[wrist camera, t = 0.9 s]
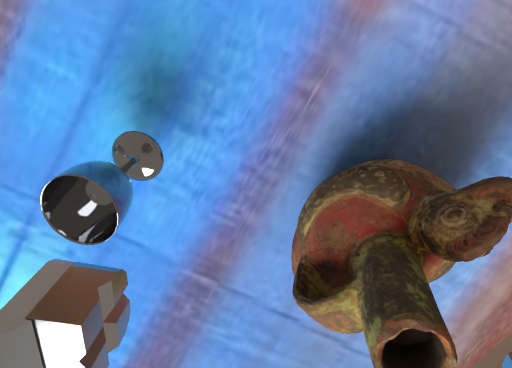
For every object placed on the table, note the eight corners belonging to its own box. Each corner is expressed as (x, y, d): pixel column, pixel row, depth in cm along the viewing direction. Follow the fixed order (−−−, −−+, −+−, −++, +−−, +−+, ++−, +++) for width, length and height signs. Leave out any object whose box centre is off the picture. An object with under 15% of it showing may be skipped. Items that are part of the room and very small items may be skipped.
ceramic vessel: (499, 182, 47) (682, 344, 25) (335, 285, 56) (358, 469, 34) (419, 80, 43) (551, 163, 20) (256, 210, 52) (224, 363, 30)
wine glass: (141, 117, 48) (81, 161, 35) (177, 167, 51) (133, 226, 37) (97, 145, 51) (23, 197, 37) (133, 192, 53) (77, 255, 40)
